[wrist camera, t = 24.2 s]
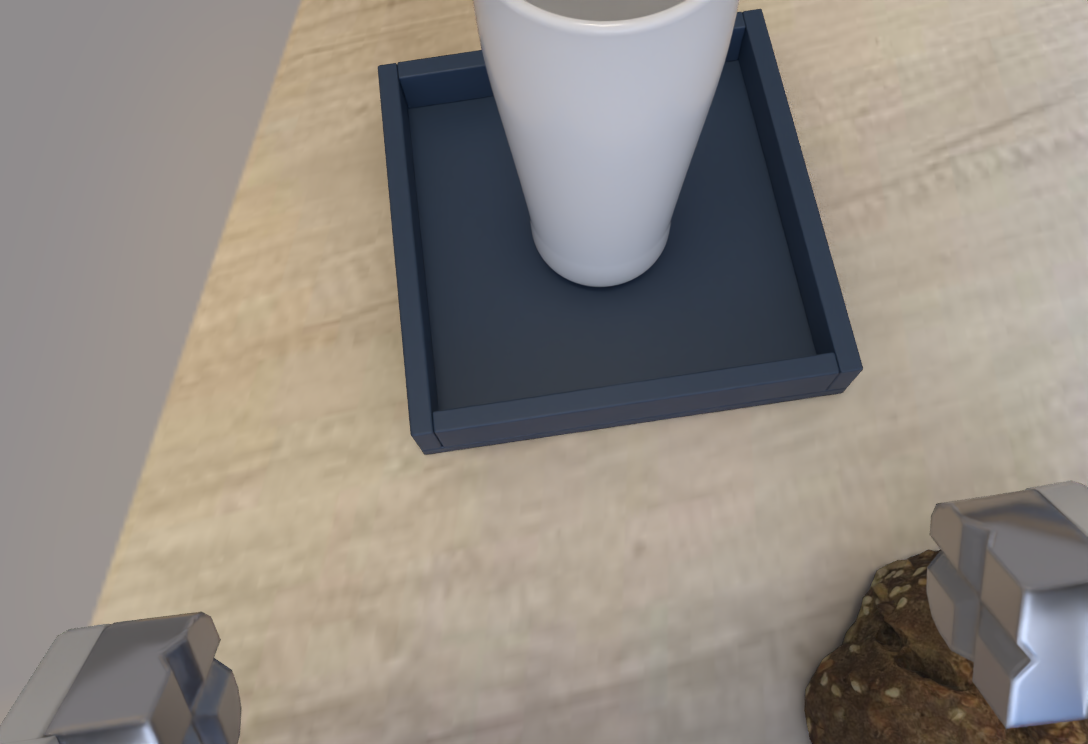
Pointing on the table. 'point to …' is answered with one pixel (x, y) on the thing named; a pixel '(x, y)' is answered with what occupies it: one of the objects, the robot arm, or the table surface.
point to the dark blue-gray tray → (616, 311)
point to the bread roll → (908, 678)
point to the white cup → (603, 119)
